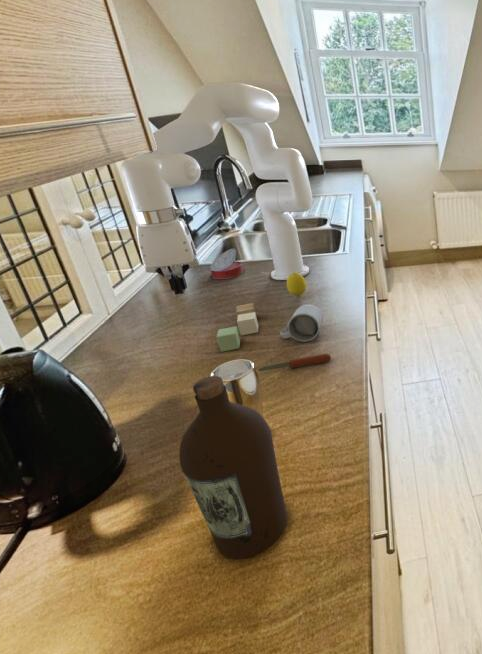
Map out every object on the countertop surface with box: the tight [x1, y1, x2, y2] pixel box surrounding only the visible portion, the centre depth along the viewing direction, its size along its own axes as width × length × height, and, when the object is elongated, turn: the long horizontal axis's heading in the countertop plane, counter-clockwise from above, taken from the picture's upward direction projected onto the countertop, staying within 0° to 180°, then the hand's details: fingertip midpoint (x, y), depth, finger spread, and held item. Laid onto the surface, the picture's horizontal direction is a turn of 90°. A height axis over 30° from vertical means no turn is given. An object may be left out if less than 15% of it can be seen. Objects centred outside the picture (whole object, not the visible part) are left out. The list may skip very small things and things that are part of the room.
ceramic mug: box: [279, 303, 324, 343], centre depth 116 cm, size 11×8×8 cm
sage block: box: [216, 325, 242, 353], centre depth 112 cm, size 4×4×4 cm
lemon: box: [286, 272, 307, 298], centre depth 138 cm, size 6×6×8 cm
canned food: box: [209, 248, 244, 280], centre depth 159 cm, size 11×10×10 cm
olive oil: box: [178, 375, 288, 560], centre depth 60 cm, size 11×11×25 cm
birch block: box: [235, 302, 257, 317], centre depth 125 cm, size 4×4×4 cm
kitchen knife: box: [257, 352, 332, 372], centre depth 103 cm, size 16×1×2 cm, turn 107°
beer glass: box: [210, 358, 265, 419], centre depth 78 cm, size 7×7×15 cm
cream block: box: [236, 311, 259, 336], centre depth 120 cm, size 4×4×4 cm
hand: (180, 292), depth 107 cm, fingers closed
